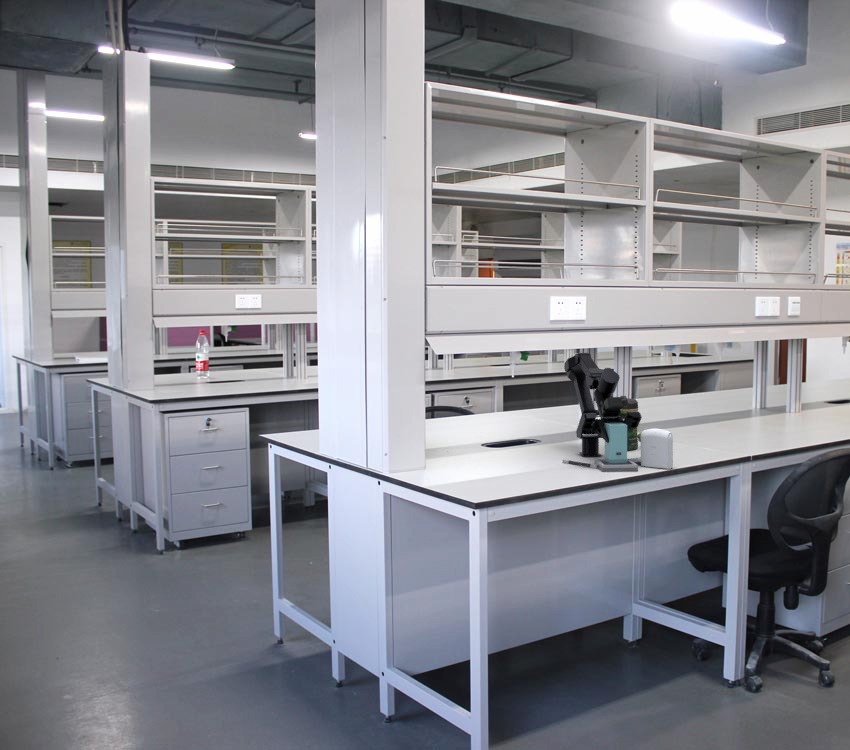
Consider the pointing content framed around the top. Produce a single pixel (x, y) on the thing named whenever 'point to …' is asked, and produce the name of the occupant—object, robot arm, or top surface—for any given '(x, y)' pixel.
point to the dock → (616, 466)
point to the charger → (616, 443)
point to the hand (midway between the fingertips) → (617, 441)
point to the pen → (580, 463)
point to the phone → (636, 461)
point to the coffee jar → (632, 432)
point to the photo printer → (657, 448)
